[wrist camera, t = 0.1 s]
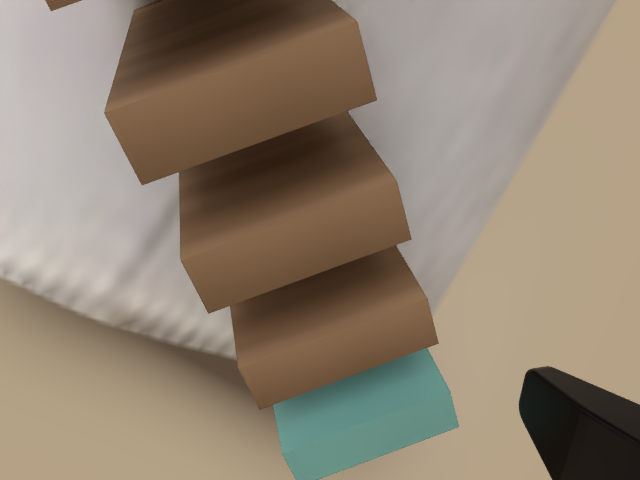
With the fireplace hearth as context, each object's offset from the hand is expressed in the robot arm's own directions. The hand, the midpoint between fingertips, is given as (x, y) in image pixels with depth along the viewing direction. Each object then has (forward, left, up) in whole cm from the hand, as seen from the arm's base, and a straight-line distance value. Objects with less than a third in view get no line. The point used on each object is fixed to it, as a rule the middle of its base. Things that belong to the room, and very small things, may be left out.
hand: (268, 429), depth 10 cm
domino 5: (+6, +3, -15) cm, 16 cm away
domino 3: (0, +1, -15) cm, 15 cm away
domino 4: (+3, +2, -15) cm, 15 cm away
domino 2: (-4, 0, -15) cm, 15 cm away
